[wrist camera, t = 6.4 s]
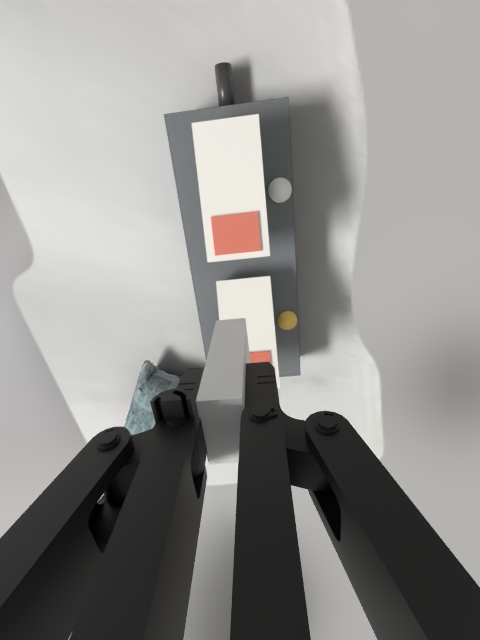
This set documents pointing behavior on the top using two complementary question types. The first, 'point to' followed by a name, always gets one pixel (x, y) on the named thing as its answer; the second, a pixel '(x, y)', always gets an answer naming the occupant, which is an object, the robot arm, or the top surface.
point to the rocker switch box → (277, 206)
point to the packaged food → (147, 397)
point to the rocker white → (231, 188)
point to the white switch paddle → (251, 315)
